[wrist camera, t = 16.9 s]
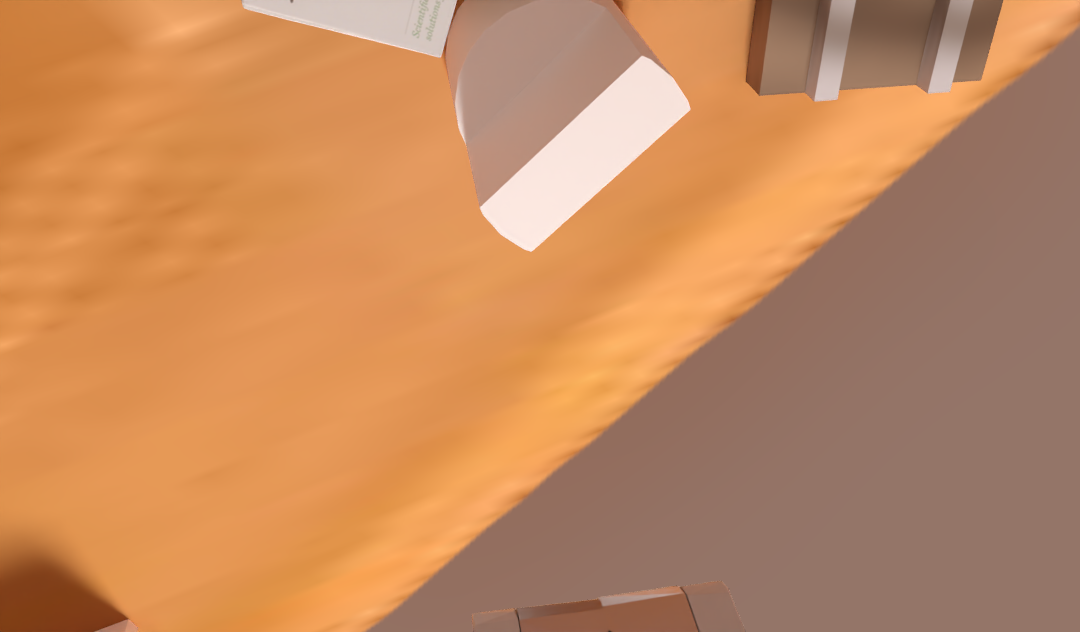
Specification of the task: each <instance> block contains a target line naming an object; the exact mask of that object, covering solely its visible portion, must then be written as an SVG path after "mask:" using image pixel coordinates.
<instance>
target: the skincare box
mask: <svg viewBox="0 0 1080 632" xmlns="http://www.w3.org/2000/svg"><path fill="white" fill-rule="evenodd" d="M456 2H457V0H242V4H243V7H244V8H245V9H248V10H252V11H256V12H259V13H263V14H267V15H271V16H275V17H279V18H283V19H287V20H291V21H294V22H298V23H303V24H307V25H311V26H315V27H319V28H323V29H327V30H331V31H335V32H339V33H343V34H347V35H351V36H355V37H360V38H364V39H368V40H372V41H376V42H380V43H384V44H388V45H392V46H396V47H400V48H404V49H408V50H412V51H416V52H421V53H424V54H428V55H432V56H435V57H439V58H440V57H441V56H442V52H443V49H444V45H445V42H446V38H447V35H448V31H449V27H450V24H451V20H452V17H453V13H454V10H455V6H456Z"/></svg>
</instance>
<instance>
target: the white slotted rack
mask: <svg viewBox="0 0 1080 632" xmlns="http://www.w3.org/2000/svg"><path fill="white" fill-rule="evenodd" d="M137 630H138V627H137V626H136V625H135V624H134V623H133V622H131V621H130V620H129V619H127V620H124V621H122V622H119V623H116V624H114V625H111V626H108V627H106V628H103V629H100V630H98V631H95V632H137Z"/></svg>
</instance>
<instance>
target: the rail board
mask: <svg viewBox="0 0 1080 632" xmlns="http://www.w3.org/2000/svg"><path fill="white" fill-rule="evenodd" d="M1002 3H1003V0H756V5H755V13H754V21H753V29H752V37H751V45H750V53H749V61H748V69H747V77H746V82H747V83H748V84H749V85H750V86H751V87H752V88H753V89H754V90H755V91H756V93H757V94H758V95H759V96H761V95H775V94H790V93H804V92H805V93H806V94H807V95H808V96H809V97H810V98H811V99H812V100H813V101H826V100H837V99H838V93H839V90H848V89H863V88H877V87H892V86H907V85H917V86H918V87H920V88H921V89H922V90H924V91H925V92H926V93H941V92H950V89H951V86H952V82H965V81H979V80H981V78H982V75H983V71H984V68H985V64H986V60H987V57H988V53H989V50H990V46H991V43H992V39H993V35H994V32H995V28H996V25H997V21H998V17H999V14H1000V10H1001V7H1002Z"/></svg>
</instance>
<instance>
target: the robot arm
mask: <svg viewBox="0 0 1080 632" xmlns="http://www.w3.org/2000/svg"><path fill="white" fill-rule="evenodd" d="M472 624H473V632H746V631H745V628H744V626H743V623H742V621H741V618H740V616H739V613H738V611H737V609H736V606H735V604H734V601H733V599H732V596H731V594H730V591H729V589H728V588H727V586H726V585H725V584H724V583H723V582H722V581H714V582H708V583H701V584H695V585H688V586H682V587H678V586H672V587H665V588H658V589H652V590H646V591H638V592H632V593H625V594H618V595H612V596H606V597H599V598H597V599H595V600H587V601H578V602H569V603H561V604H551V605H543V606H534V607H525V608H517V609H516V610H515V608H513V609H505V610H498V611H490V612H483V613H475V614H472Z"/></svg>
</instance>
